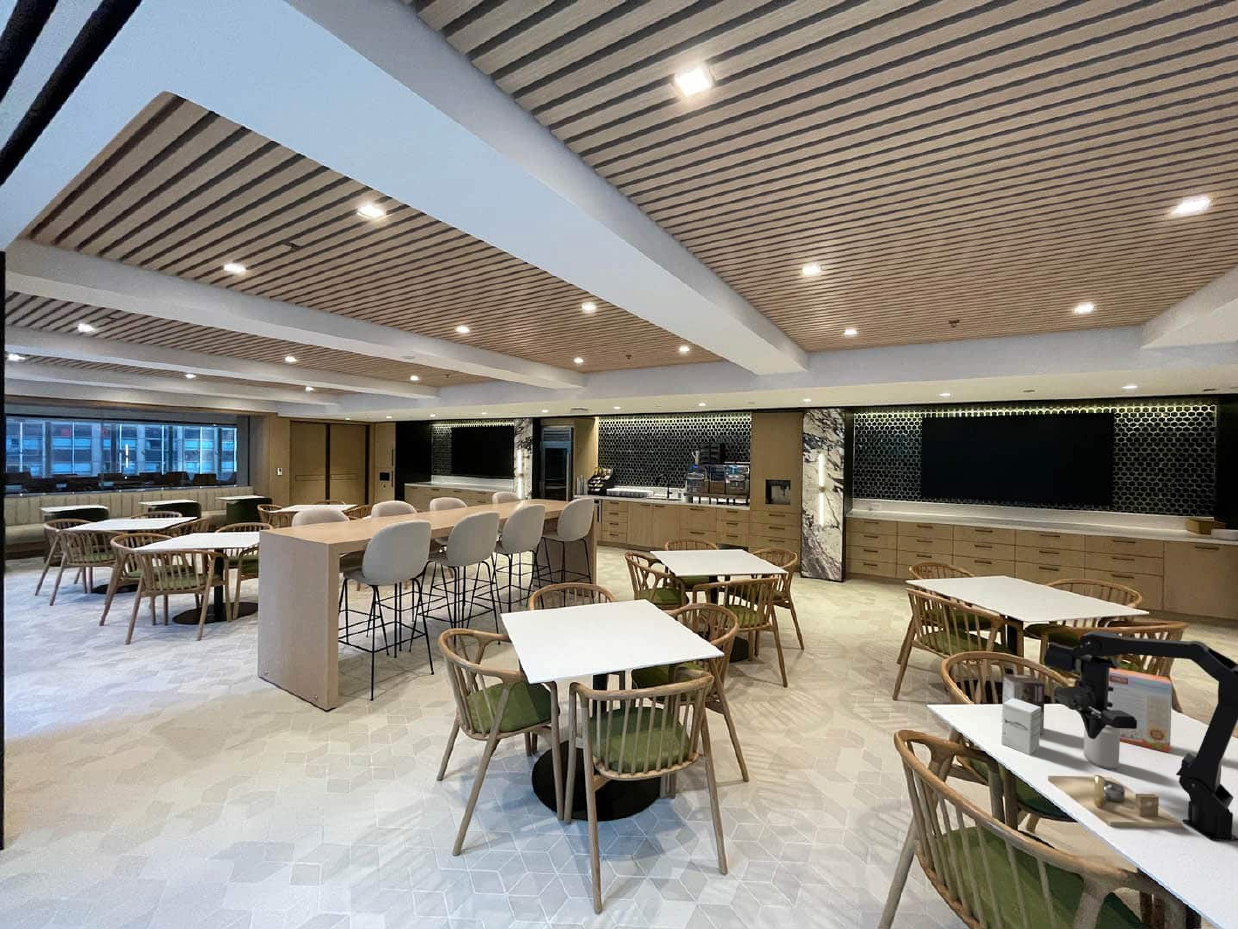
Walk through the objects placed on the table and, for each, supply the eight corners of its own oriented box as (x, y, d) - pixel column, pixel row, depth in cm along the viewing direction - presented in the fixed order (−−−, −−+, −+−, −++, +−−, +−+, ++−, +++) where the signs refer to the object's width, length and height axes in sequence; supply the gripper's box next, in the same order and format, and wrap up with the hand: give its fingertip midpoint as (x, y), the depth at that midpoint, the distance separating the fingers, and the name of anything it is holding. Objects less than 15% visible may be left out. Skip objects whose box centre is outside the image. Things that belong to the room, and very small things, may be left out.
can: (1125, 772, 149) (1127, 729, 149) (1094, 768, 151) (1095, 725, 150) (1106, 757, 156) (1108, 716, 156) (1077, 754, 158) (1078, 713, 158)
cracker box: (1166, 745, 164) (1169, 677, 164) (1170, 754, 159) (1173, 683, 159) (1104, 730, 172) (1107, 665, 172) (1106, 738, 168) (1109, 671, 167)
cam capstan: (1102, 788, 139) (1103, 761, 139) (1127, 799, 134) (1129, 771, 134) (1084, 801, 133) (1085, 773, 133) (1110, 813, 129) (1111, 783, 129)
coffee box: (1031, 725, 175) (1033, 675, 175) (1044, 735, 168) (1046, 683, 168) (1000, 722, 176) (1002, 672, 176) (1012, 732, 170) (1014, 681, 170)
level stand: (1182, 828, 126) (1183, 802, 126) (1110, 826, 126) (1111, 801, 126) (1110, 781, 144) (1111, 759, 144) (1047, 780, 144) (1048, 758, 144)
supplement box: (1000, 744, 162) (1002, 702, 162) (1011, 737, 166) (1012, 696, 166) (1029, 756, 156) (1031, 712, 156) (1040, 748, 160) (1041, 706, 160)
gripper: (1036, 665, 152) (1034, 720, 152) (1096, 694, 133) (1093, 757, 134) (1075, 666, 152) (1073, 721, 152) (1140, 695, 134) (1137, 758, 134)
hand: (1091, 738), depth 143 cm, fingers closed
